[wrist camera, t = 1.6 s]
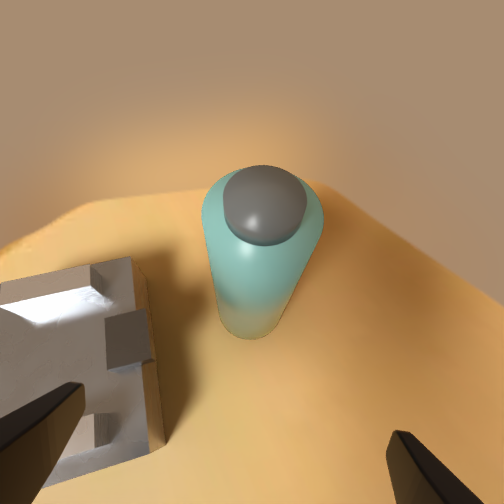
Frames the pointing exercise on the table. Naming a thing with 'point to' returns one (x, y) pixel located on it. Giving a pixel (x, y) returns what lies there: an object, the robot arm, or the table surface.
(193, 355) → the table surface
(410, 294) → the table surface
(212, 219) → the bottle
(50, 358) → the block
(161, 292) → the table surface
